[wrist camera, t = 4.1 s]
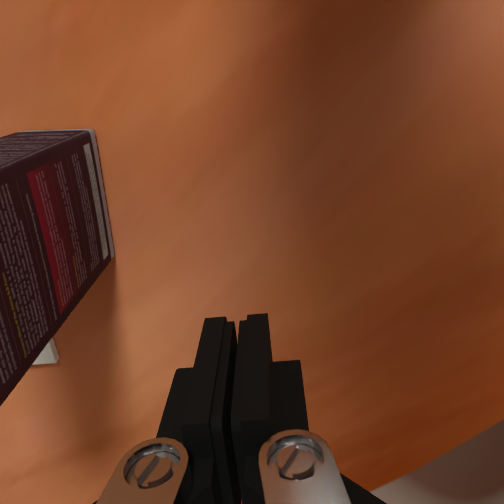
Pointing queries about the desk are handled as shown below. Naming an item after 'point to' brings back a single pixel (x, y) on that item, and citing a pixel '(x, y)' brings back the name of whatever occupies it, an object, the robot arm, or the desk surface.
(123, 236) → the desk surface
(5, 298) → the supplement box
